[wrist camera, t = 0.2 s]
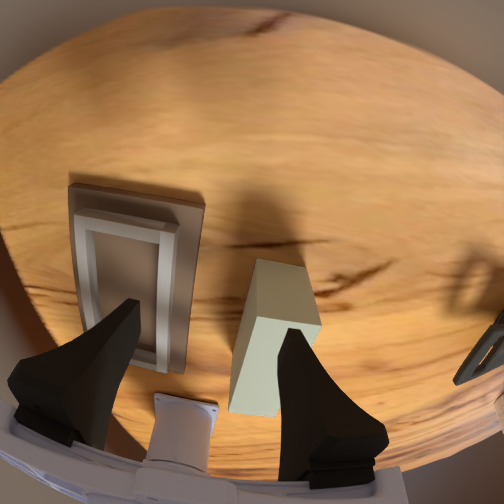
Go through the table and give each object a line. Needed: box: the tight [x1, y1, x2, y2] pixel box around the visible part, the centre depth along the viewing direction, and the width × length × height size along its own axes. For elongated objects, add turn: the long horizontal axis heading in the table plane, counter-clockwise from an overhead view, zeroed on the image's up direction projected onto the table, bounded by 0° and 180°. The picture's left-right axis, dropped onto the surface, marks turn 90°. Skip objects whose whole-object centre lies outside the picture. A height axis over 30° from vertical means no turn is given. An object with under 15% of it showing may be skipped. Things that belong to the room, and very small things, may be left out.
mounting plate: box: [68, 183, 206, 374], centre depth 24 cm, size 18×11×2 cm, turn 168°
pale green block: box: [228, 258, 322, 417], centre depth 23 cm, size 11×4×7 cm, turn 168°
